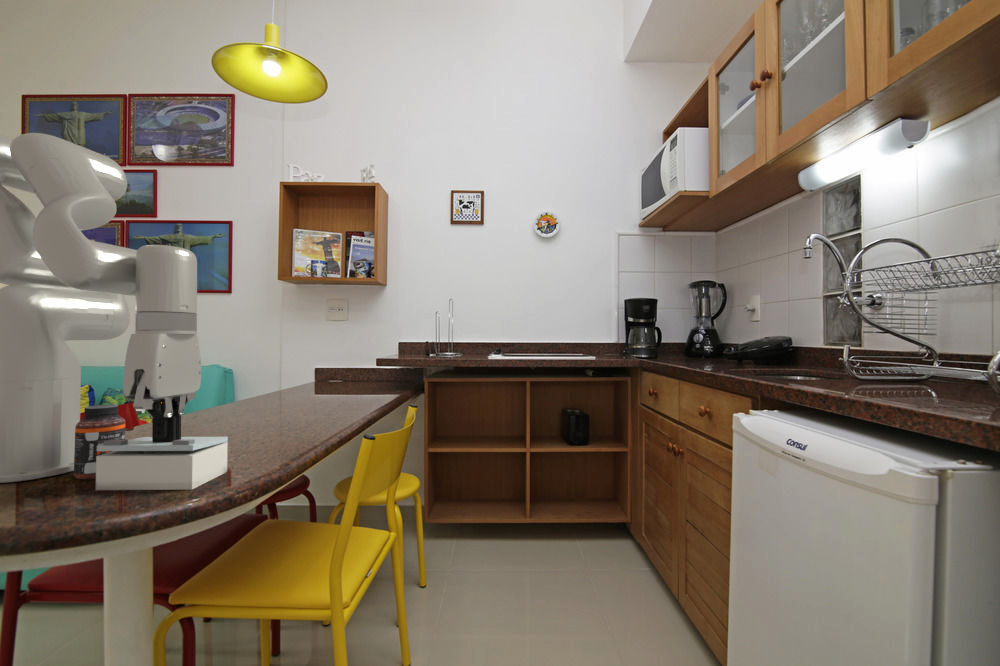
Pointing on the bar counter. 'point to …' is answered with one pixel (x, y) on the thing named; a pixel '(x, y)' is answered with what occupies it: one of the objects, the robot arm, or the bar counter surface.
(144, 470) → the white hinged box
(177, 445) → the cover
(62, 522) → the bar counter surface
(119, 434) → the supplement bottle
